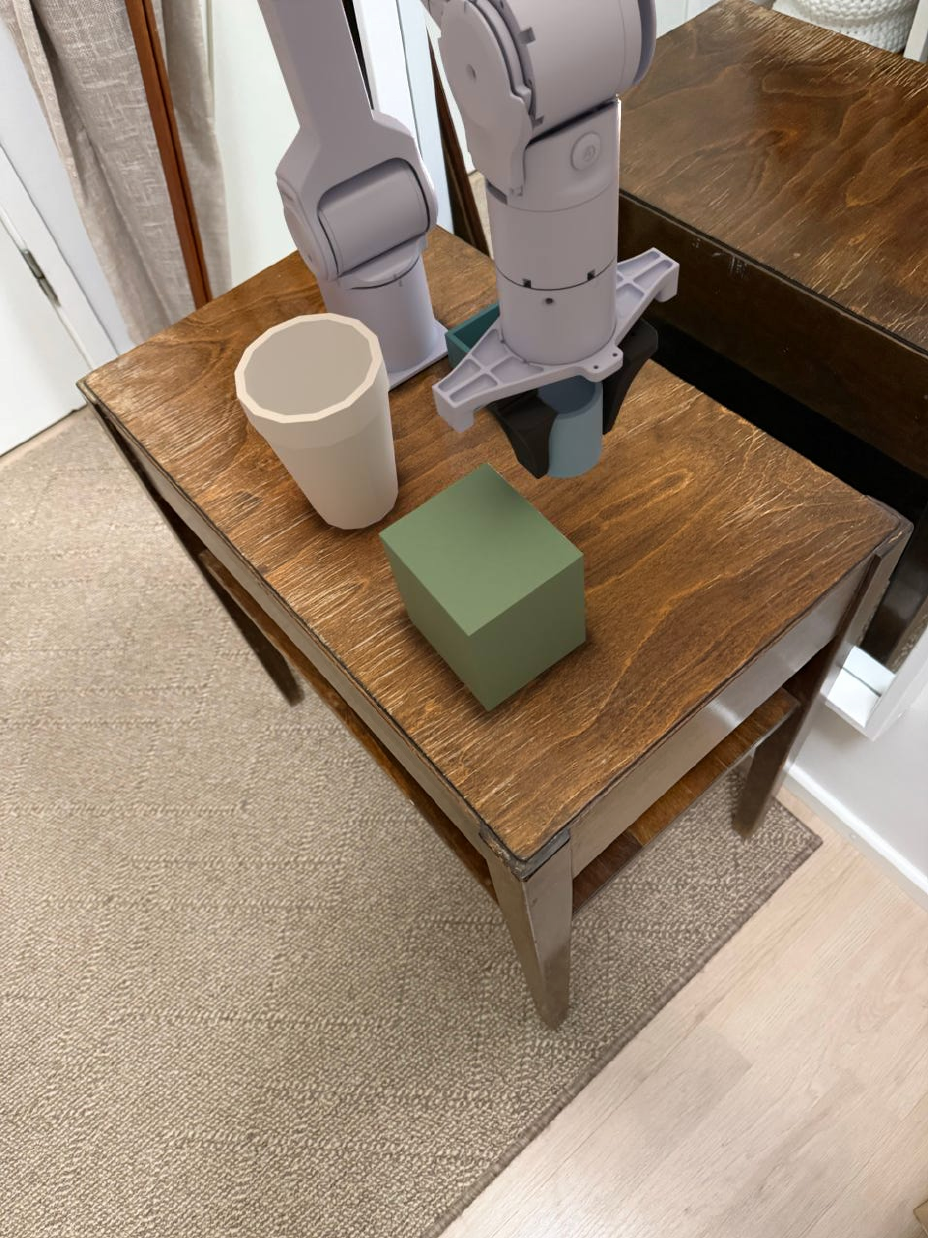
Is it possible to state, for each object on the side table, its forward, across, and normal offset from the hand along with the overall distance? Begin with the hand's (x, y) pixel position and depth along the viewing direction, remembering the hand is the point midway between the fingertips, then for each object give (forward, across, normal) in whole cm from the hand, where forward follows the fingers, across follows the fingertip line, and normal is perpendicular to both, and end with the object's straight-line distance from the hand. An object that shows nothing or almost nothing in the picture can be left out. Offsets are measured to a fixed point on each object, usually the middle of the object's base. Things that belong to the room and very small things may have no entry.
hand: (564, 445), depth 52 cm
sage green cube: (+10, -8, -2) cm, 13 cm away
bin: (+10, +8, +15) cm, 20 cm away
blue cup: (0, 0, 0) cm, 0 cm away
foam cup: (+11, -9, +14) cm, 20 cm away
